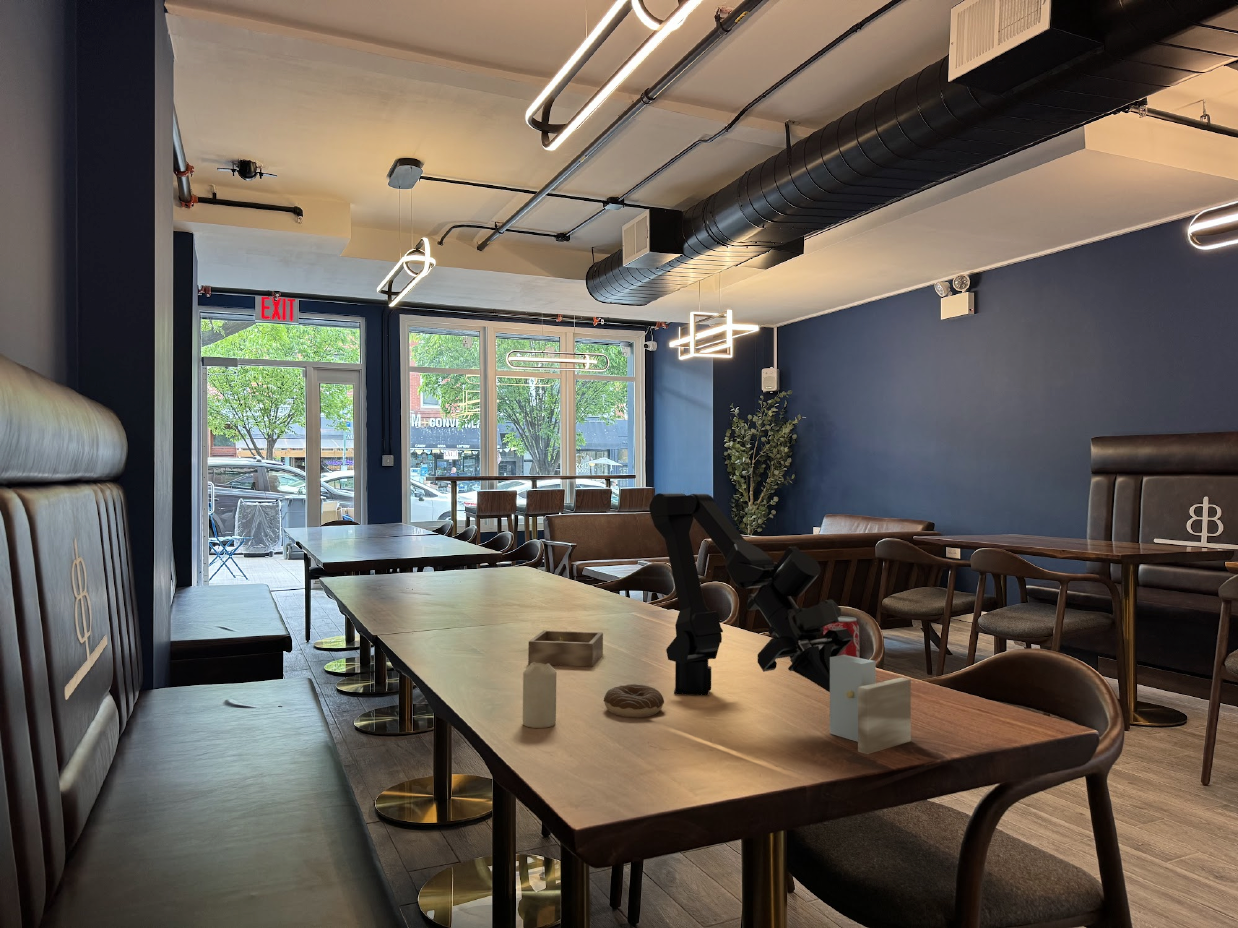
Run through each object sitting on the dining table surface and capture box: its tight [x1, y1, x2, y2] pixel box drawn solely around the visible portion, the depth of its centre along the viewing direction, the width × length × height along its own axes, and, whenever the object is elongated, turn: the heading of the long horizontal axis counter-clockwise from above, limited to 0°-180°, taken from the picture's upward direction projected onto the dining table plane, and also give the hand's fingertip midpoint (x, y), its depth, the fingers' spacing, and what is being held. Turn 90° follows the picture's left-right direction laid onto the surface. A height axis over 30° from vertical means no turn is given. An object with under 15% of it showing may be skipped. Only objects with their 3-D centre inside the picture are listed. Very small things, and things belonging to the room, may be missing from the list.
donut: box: [603, 683, 665, 718], centre depth 144 cm, size 11×11×4 cm
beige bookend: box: [857, 676, 912, 755], centre depth 129 cm, size 16×11×10 cm
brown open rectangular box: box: [527, 630, 604, 668], centre depth 187 cm, size 14×14×5 cm
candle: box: [522, 662, 558, 729], centre depth 135 cm, size 6×6×10 cm
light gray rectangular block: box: [829, 655, 876, 743], centre depth 128 cm, size 6×4×12 cm
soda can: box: [822, 615, 860, 658], centre depth 167 cm, size 7×7×13 cm
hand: (835, 691), depth 130 cm, fingers closed, pressing on light gray rectangular block
